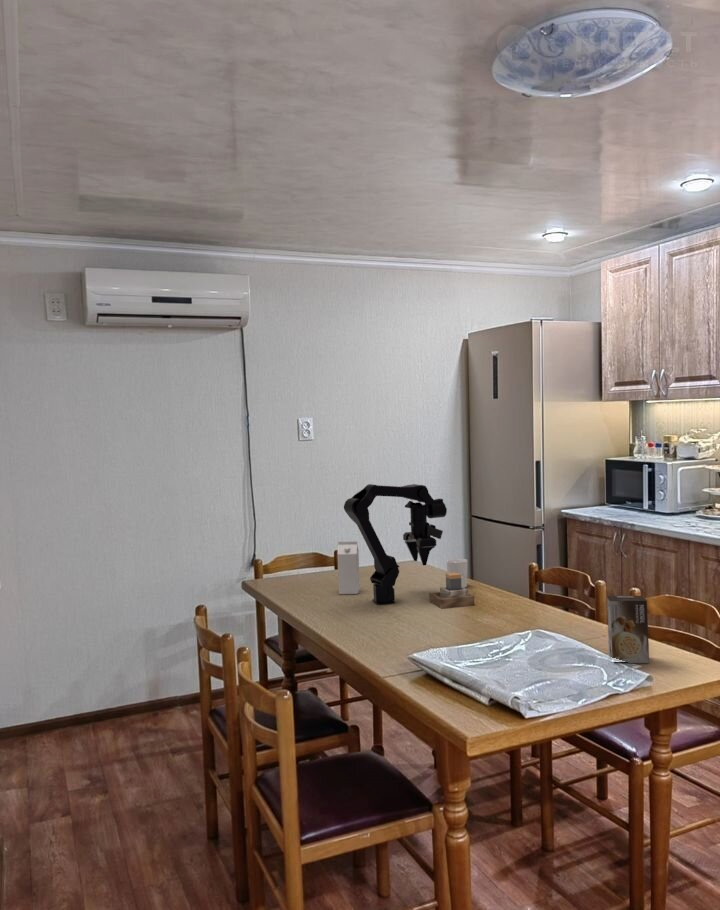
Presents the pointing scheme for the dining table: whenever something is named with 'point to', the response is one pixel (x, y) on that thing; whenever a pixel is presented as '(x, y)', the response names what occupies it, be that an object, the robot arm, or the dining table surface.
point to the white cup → (458, 569)
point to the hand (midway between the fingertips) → (420, 563)
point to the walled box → (451, 598)
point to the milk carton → (348, 568)
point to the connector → (453, 581)
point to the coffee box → (628, 628)
